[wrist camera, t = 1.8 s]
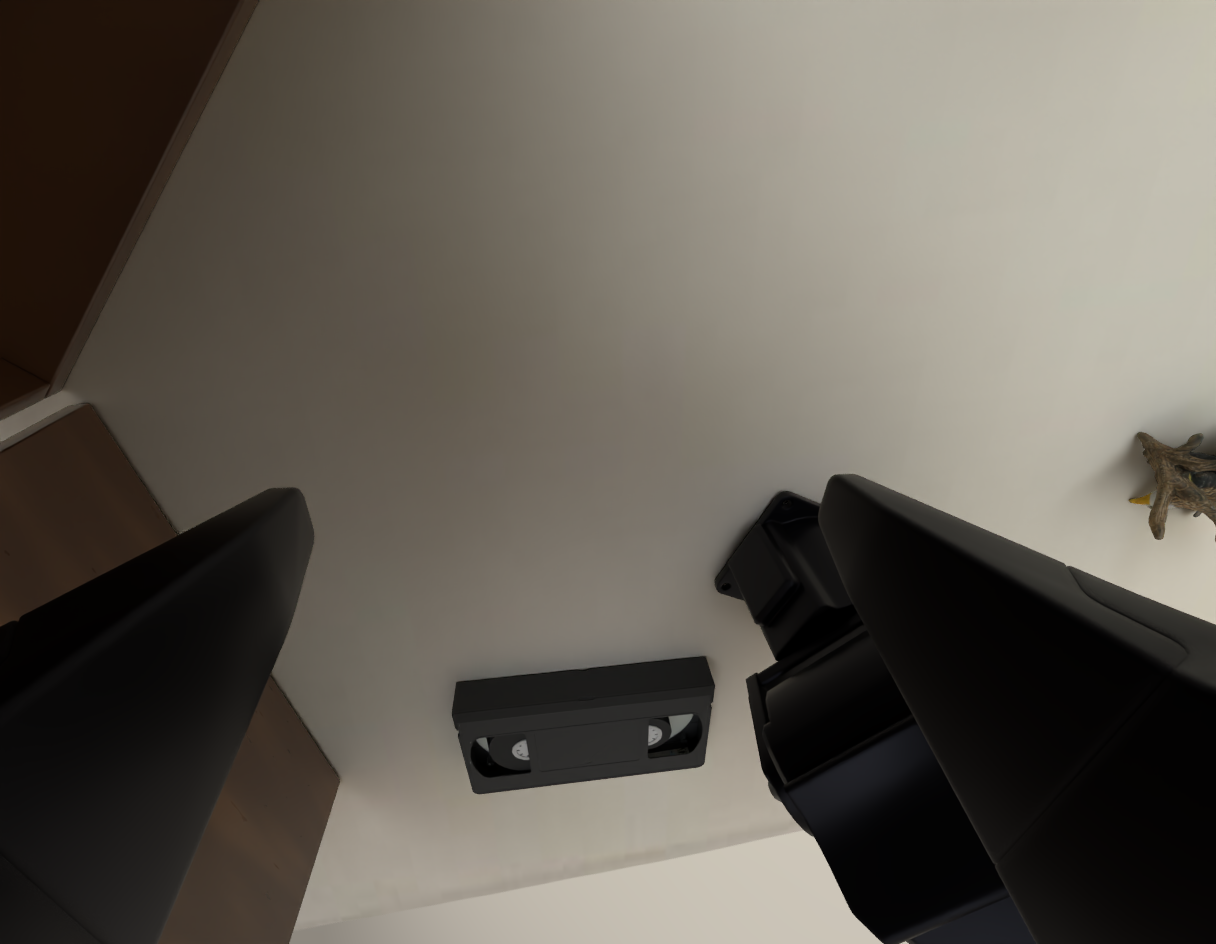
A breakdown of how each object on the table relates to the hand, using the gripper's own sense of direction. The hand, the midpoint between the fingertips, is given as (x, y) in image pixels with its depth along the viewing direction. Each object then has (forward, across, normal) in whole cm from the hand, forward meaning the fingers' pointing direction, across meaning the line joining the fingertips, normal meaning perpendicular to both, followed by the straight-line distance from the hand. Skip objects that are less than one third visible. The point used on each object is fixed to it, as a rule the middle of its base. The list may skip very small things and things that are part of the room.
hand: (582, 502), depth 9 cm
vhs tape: (+13, -2, +24) cm, 27 cm away
